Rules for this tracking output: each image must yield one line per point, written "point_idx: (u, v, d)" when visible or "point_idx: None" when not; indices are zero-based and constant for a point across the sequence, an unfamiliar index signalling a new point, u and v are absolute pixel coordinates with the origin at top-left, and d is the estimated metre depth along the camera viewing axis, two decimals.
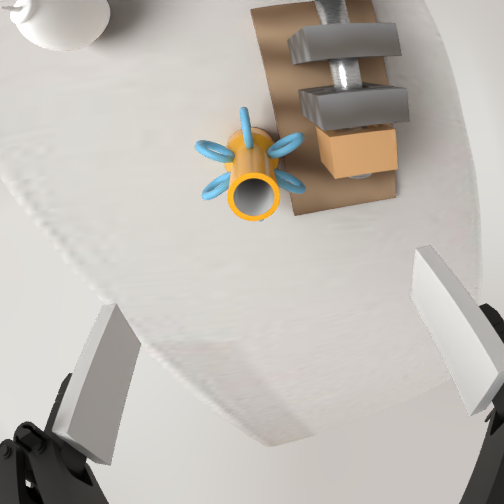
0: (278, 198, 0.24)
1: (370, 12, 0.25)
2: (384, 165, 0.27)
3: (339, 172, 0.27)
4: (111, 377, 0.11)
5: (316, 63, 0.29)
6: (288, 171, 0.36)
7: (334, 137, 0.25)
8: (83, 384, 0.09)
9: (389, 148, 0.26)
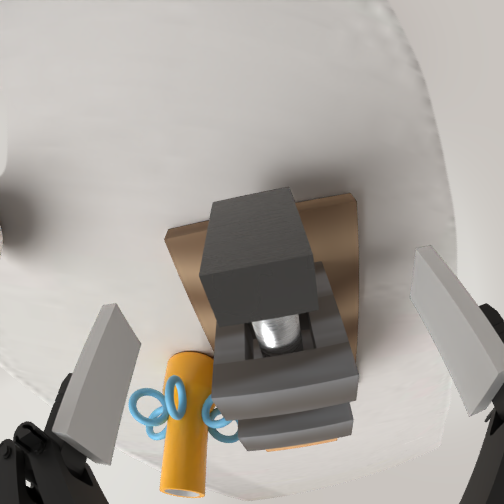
0: (203, 494, 0.21)
1: (351, 223, 0.22)
2: (321, 441, 0.24)
3: (271, 449, 0.24)
4: (111, 377, 0.11)
5: None
6: None
7: None
8: (83, 384, 0.09)
9: None
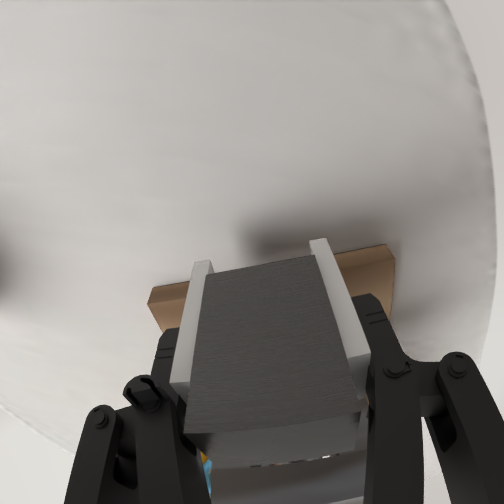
0: None
1: (386, 284, 0.17)
2: None
3: None
4: None
5: None
6: None
7: None
8: None
9: None
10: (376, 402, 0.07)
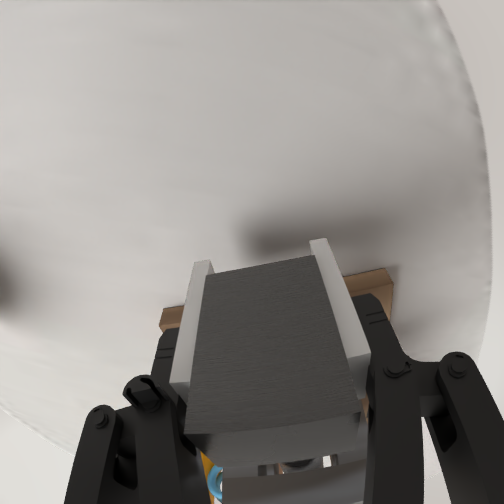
0: None
1: (384, 306, 0.18)
2: None
3: None
4: None
5: None
6: None
7: None
8: None
9: None
10: (376, 402, 0.07)
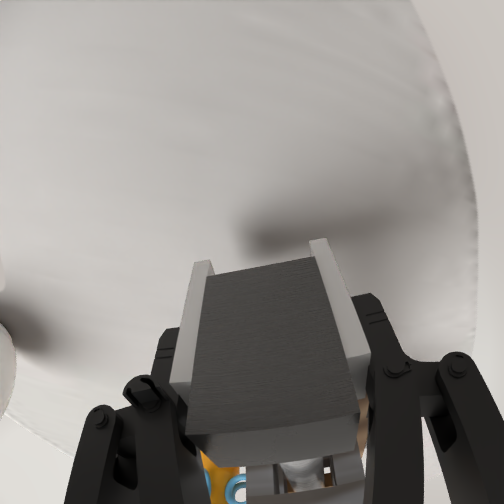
0: None
1: None
2: None
3: None
4: None
5: None
6: None
7: None
8: None
9: None
10: (376, 402, 0.07)
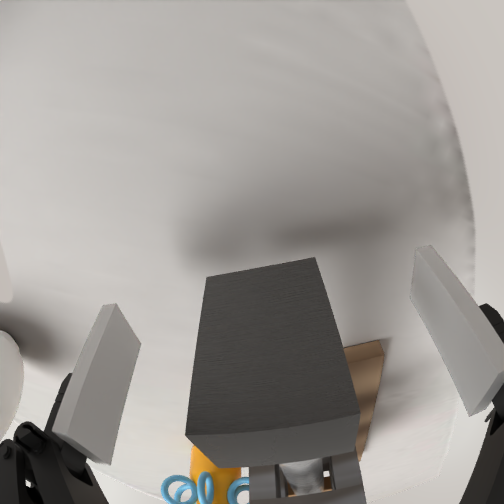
0: None
1: (376, 369, 0.21)
2: None
3: None
4: (111, 377, 0.11)
5: None
6: None
7: None
8: (83, 384, 0.09)
9: None
10: None
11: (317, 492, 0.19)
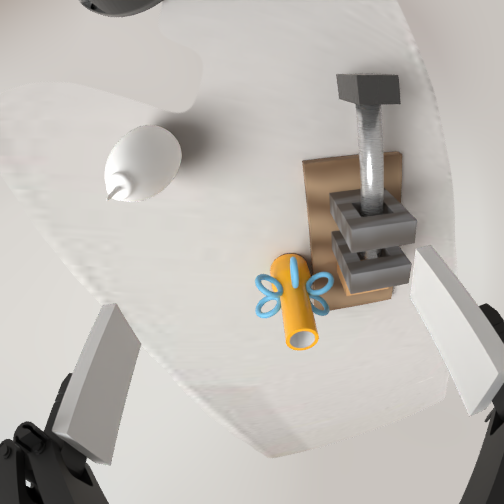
0: (317, 339, 0.37)
1: (398, 166, 0.39)
2: None
3: (349, 292, 0.42)
4: (111, 377, 0.11)
5: None
6: (315, 285, 0.49)
7: None
8: (83, 384, 0.09)
9: None
10: None
11: None
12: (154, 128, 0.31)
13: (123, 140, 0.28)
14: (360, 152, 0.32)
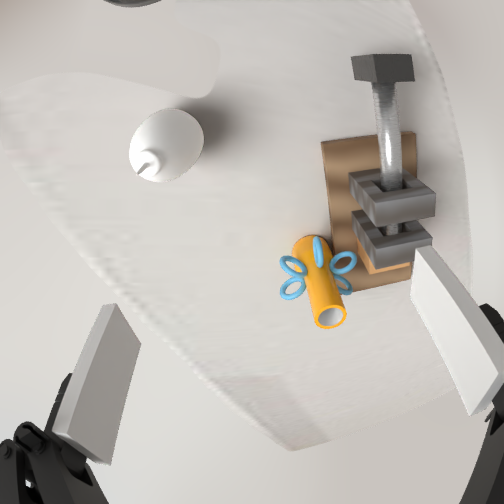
0: (345, 316, 0.37)
1: (413, 145, 0.38)
2: (401, 264, 0.42)
3: (372, 270, 0.42)
4: (111, 377, 0.11)
5: None
6: (337, 267, 0.49)
7: None
8: (83, 384, 0.09)
9: None
10: None
11: None
12: (177, 110, 0.31)
13: (147, 121, 0.29)
14: (378, 129, 0.31)
